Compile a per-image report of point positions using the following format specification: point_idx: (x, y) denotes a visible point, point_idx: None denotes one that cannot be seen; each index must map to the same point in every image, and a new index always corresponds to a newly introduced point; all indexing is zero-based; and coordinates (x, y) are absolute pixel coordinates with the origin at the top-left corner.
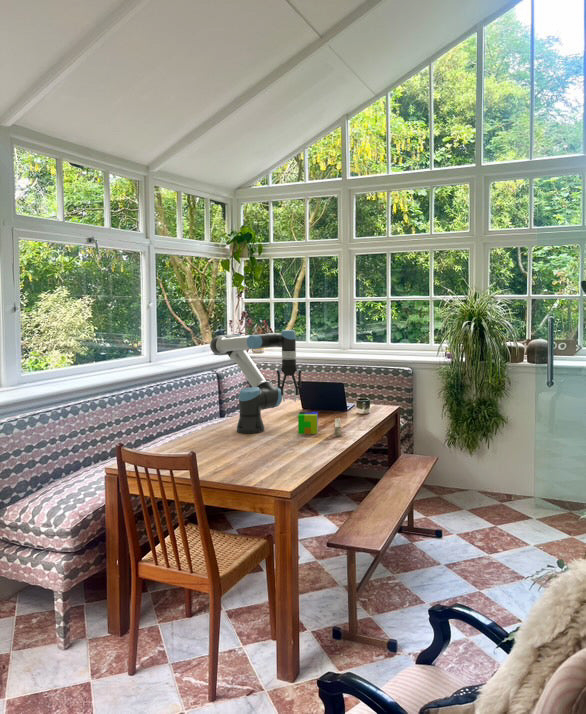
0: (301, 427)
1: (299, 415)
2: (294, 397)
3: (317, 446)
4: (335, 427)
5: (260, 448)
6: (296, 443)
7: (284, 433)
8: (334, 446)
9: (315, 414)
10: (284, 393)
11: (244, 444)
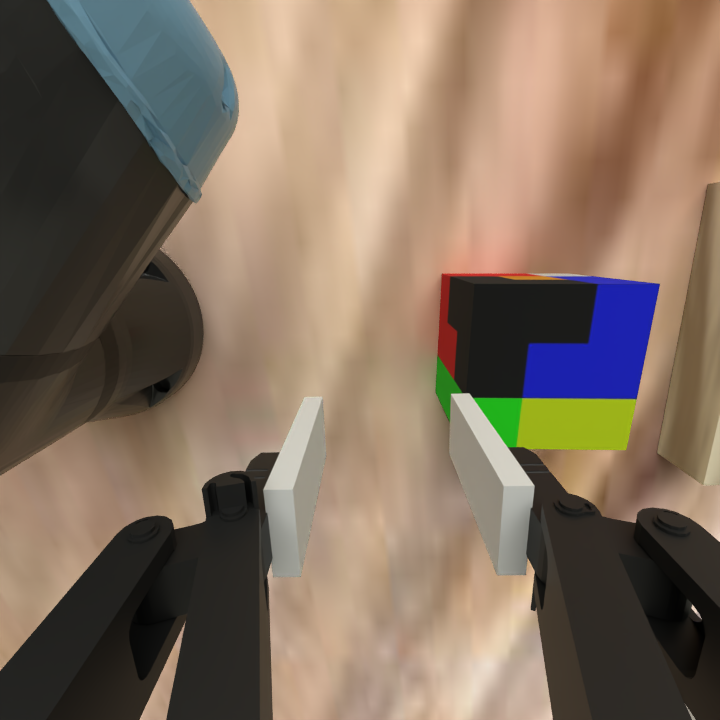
0: None
1: None
2: (464, 482)
3: (536, 638)
4: (702, 483)
5: (275, 667)
6: (433, 593)
7: (347, 391)
8: None
9: (619, 408)
10: (311, 522)
11: None
